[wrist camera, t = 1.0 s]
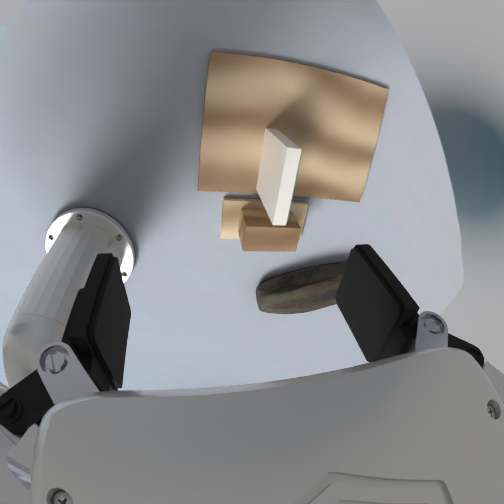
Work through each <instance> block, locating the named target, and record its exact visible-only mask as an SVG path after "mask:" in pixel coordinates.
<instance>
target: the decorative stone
mask: <svg viewBox="0 0 504 504" xmlns="http://www.w3.org/2000/svg"><path fill="white" fill-rule="evenodd" d="M346 264H347V263H333V264H324V265H319V266H314V267H309V268H305V269H301V270H298V271H294V272H291V273H287V274H284V275H281V276H278V277H275V278H273V279H270V280H268V281H265V282H263V283H261V284H260V285H259V286H258V287H257V289H256V298H257V303H258V307H259V310H260V311H263V312H267V313H276V314H295V313H304V312H309V311H313V310H317V309H320V308H324V307H328V306H331V305H335V304H337V303H336V294H337V291H338V288H339V285H340V282H341V279H342V276H343V273H344V270H345V267H346Z"/></svg>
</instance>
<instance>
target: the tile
mask: <svg viewBox="0 0 504 504" xmlns="http://www.w3.org/2000/svg"><path fill="white" fill-rule="evenodd" d="M301 155H302V149H301V148H299V147H298V146H297V145H296V144H295V143H293V142H292V141H291V140H290V139H288V138H287V137H286V136H285V135H283V134H282V133H281V132H280V131H278V130H277V129H269V128H266V129H265V135H264V142H263V148H262V155H261V161H260V168H259V174H258V181H257V187H256V190H257V192H258V194H259V196H260V198H261V201H262V203H263V205H264V207H265V209H266V211H267V214H268V216H269V218H270V220H271V222H272V225H285V226H286V222H288V217H289V212H290V208H291V203H292V198H293V194H294V189H295V184H296V179H297V175H298V170H299V165H300V160H301Z"/></svg>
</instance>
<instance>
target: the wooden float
mask: <svg viewBox="0 0 504 504" xmlns="http://www.w3.org/2000/svg"><path fill="white" fill-rule="evenodd" d="M307 208H308V204H307V202H296V201H292V203H291V208H290V212H289V217H288V222H286V226H285V225H272V222H271V220H270V218H269V216H268V214H267V211H266V209H265V207H264V205H263V203H262V201H261V199H242V198H223V209H222V220H221V232H220V237H221V239H240V241H241V245H242V249H243V251H296V248H297V244H298V240H300V237H301V233H302V229H303V225H304V221H305V217H306V213H307Z"/></svg>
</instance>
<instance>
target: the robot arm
mask: <svg viewBox="0 0 504 504" xmlns="http://www.w3.org/2000/svg"><path fill="white" fill-rule="evenodd" d="M45 245H46V253H47V254H46V255H45V257H44V259H43V260H42V262H41V264H40V265H39V267H38V269H37V271H36V272H35V274H34V276H33V278H32V280H31V281H30V283H29V285H28V287H27V289H26V291H25V293H24V295H23V297H22V299H21V301H20V303H19V305H18V307H17V309H16V311H15V313H14V315H13V317H12V319H11V321H10V323H9V326H8V328H7V330H6V333H5V336H4V341H3V363H4V369H5V373H6V377H7V381H8V384H9V387H10V389H9V390H7V389H5V388H2V387H1V386H0V504H504V375H503V374H502V373H501V372H500V371H498V370H497V369H496V368H495V367H493V366H492V365H491V364H490V363H489V362H485V363H484V357H483V354H482V353H481V351H480V350H479V348H477V347H476V346H474V345H472V344H470V343H468V342H466V341H464V340H461V339H459V338H457V337H455V336H453V335H451V334H448V328H447V324H446V323H445V321H444V320H443V319H442V318H441V317H440V316H439V315H438V314H436V313H434V312H430V311H425V312H422V313H421V314H420V315H419V314H418V313H417V312H418V310H419V306H418V305H417V304H416V302H415V301H414V300H413V298H412V297H411V296H410V294H409V293H408V292H407V290H406V289H405V288H404V287H403V285H402V284H401V283H400V281H399V280H398V279H397V278H396V276H395V275H394V274H393V273H392V271H391V270H390V269H389V268H388V266H387V265H386V264H385V263H384V261H383V260H382V259H381V258H380V257H379V255H378V254H377V253H376V252H375V251H374V249H373V248H372V247H371V246H370V245H368V244H363V245H356V246H355V247H354V248H353V249H351V251H350V255H349V258H348V261H347V264H346V267H345V270H344V273H343V276H342V279H341V282H340V285H339V288H338V291H337V294H336V303H337V305H338V307H339V309H340V311H341V312H342V314H343V316H344V318H345V320H346V322H347V324H348V325H349V327H350V329H351V331H352V333H353V335H354V337H355V339H356V341H357V343H358V345H359V347H360V349H361V350H362V352H363V354H364V356H365V358H366V360H367V361H368V362H370V363H367V364H362V365H358V366H354V367H349V368H345V369H340V370H335V371H331V372H326V373H320V374H315V375H310V376H304V377H298V378H292V379H285V380H279V381H271V382H264V383H256V384H247V385H237V386H227V387H215V388H200V389H177V390H130V391H118V388H122V383H123V372H124V363H125V354H126V346H127V338H128V331H129V324H130V318H131V310H130V305H129V302H128V298H127V294H126V290H125V286H124V283H125V282H126V281H127V280H128V279H129V277H130V275H131V273H132V270H133V266H134V260H135V254H134V248H133V244H132V241H131V239H130V237H129V236H128V234H127V232H126V231H125V230H124V228H123V227H122V226H121V225H120V224H119V223H118V222H117V221H116V220H114V219H113V218H112V217H110V216H108V215H107V214H105V213H103V212H100V211H98V210H95V209H90V208H75V209H70V210H68V211H65V212H63V213H62V214H61V215H59V216H58V217H57V218H56V219H55V220H54V222H53V223H52V224H51V226H50V227H49V229H48V232H47V235H46V242H45Z"/></svg>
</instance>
